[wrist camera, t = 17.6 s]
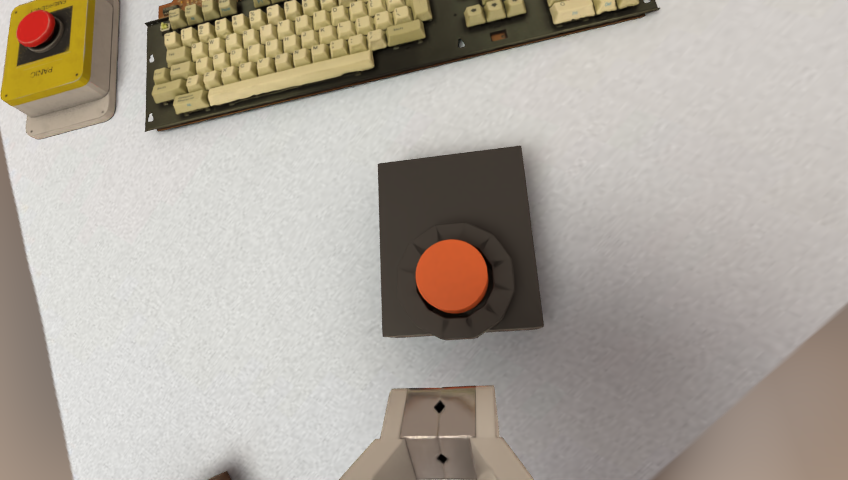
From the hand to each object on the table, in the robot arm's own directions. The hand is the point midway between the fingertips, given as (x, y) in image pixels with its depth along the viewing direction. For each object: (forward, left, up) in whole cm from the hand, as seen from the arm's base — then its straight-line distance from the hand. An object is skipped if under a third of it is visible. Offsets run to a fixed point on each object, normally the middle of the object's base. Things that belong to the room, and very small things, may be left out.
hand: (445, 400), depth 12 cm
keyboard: (+29, -12, -18) cm, 36 cm away
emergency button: (+47, +14, -18) cm, 52 cm away
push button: (+5, -3, -12) cm, 13 cm away
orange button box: (+7, -4, -18) cm, 19 cm away
